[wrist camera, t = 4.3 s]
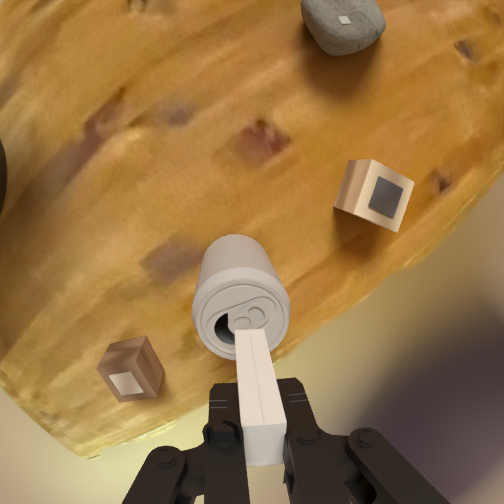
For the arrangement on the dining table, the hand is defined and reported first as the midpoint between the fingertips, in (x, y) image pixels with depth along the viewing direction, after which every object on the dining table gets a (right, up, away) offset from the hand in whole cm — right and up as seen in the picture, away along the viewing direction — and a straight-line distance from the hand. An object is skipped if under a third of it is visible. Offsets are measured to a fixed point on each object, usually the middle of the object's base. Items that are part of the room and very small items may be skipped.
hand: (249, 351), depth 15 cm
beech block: (+11, +11, +13) cm, 21 cm away
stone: (+10, +30, +8) cm, 32 cm away
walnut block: (-13, -7, +16) cm, 22 cm away
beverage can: (-2, +4, +14) cm, 15 cm away
